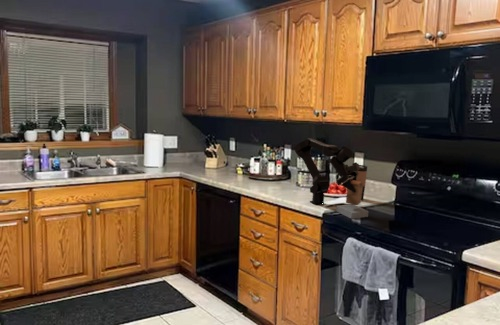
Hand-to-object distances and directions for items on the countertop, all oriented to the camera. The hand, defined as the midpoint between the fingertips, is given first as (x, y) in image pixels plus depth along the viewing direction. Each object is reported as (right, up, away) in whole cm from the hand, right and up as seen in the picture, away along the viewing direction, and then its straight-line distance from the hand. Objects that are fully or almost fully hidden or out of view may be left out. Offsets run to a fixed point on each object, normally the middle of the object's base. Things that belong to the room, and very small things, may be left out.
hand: (357, 190), depth 230 cm
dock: (-2, -12, +3) cm, 13 cm away
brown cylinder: (-2, -6, +2) cm, 7 cm away
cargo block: (-1, +2, 0) cm, 2 cm away
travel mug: (+8, -7, +34) cm, 36 cm away
